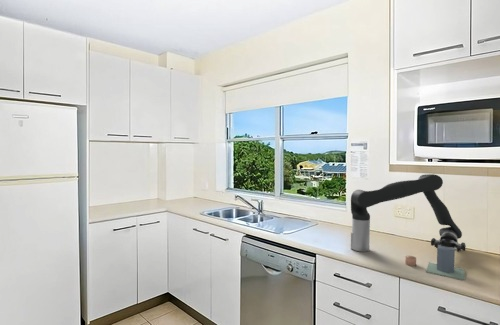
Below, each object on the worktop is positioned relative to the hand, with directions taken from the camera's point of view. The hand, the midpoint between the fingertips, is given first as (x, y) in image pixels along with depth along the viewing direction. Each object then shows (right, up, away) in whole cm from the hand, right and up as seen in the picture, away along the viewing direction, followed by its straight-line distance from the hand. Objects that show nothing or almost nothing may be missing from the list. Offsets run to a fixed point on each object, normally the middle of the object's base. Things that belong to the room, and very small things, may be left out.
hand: (447, 248), depth 140 cm
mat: (-6, -8, -8) cm, 13 cm away
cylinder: (-17, -8, 0) cm, 19 cm away
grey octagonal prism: (-6, -8, -8) cm, 13 cm away
